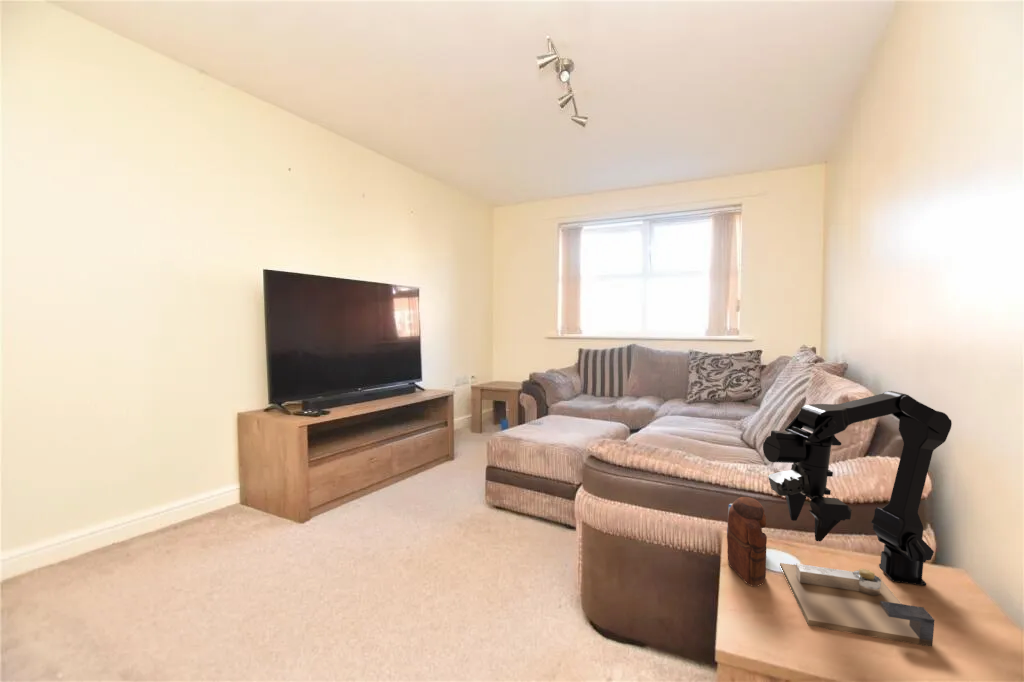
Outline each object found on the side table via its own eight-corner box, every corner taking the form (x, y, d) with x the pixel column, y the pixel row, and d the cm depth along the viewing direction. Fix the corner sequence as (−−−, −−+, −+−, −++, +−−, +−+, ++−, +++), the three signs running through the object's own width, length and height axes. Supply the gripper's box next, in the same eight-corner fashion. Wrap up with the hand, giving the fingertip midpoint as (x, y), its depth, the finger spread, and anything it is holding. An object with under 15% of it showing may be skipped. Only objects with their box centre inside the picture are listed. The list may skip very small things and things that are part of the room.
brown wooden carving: (775, 587, 101) (779, 509, 100) (748, 588, 101) (751, 510, 99) (744, 557, 113) (748, 487, 111) (720, 558, 113) (722, 488, 111)
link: (873, 583, 100) (874, 572, 100) (884, 597, 95) (885, 585, 95) (794, 572, 104) (794, 561, 104) (801, 584, 100) (801, 573, 100)
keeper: (921, 633, 87) (923, 607, 87) (932, 646, 84) (934, 619, 83) (878, 626, 89) (879, 600, 89) (886, 639, 86) (888, 612, 85)
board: (879, 581, 103) (880, 560, 102) (932, 646, 84) (934, 620, 83) (779, 567, 108) (780, 547, 108) (808, 625, 89) (809, 601, 89)
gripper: (755, 446, 110) (749, 508, 112) (800, 476, 92) (792, 550, 93) (802, 450, 110) (795, 512, 111) (857, 480, 91) (848, 554, 93)
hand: (805, 530), depth 102 cm, fingers open, 9 cm apart
